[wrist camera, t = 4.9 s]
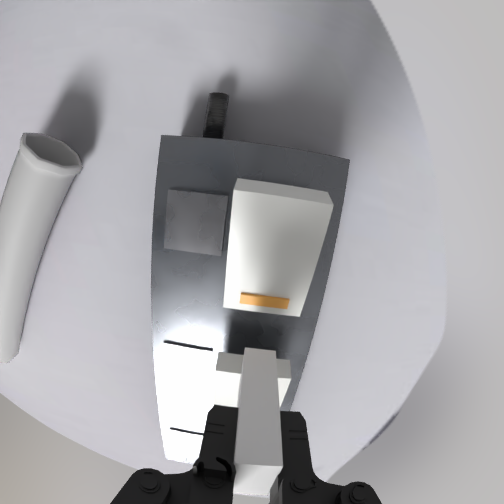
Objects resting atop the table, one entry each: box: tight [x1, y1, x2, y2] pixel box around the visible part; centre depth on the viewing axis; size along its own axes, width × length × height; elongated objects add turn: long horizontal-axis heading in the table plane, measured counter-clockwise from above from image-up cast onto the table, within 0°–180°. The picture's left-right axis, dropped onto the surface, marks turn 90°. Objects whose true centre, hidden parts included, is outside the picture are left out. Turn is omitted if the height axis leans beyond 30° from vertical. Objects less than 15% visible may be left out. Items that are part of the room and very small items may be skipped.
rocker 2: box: [213, 352, 291, 407], centre depth 16 cm, size 6×4×2 cm, turn 172°
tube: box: [0, 133, 83, 363], centre depth 18 cm, size 5×5×25 cm
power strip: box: [151, 93, 350, 464], centre depth 18 cm, size 31×10×4 cm, turn 172°
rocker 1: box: [223, 178, 334, 317], centre depth 13 cm, size 6×4×2 cm, turn 172°
